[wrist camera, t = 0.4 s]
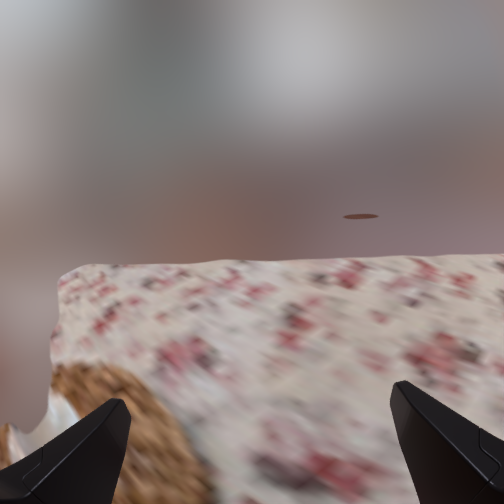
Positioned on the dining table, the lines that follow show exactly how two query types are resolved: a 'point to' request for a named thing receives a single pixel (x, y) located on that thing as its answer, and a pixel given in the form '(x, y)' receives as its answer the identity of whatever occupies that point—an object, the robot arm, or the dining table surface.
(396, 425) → the robot arm
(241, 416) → the dining table surface
